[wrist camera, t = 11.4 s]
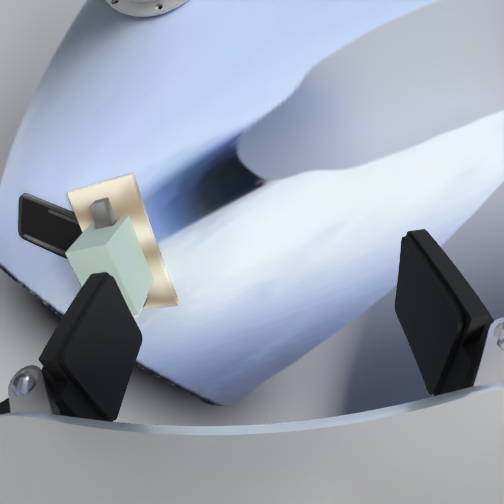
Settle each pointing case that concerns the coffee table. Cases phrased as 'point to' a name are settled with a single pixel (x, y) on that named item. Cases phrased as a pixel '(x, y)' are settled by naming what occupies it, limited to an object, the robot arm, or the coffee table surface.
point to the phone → (47, 224)
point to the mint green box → (114, 260)
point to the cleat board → (130, 203)
